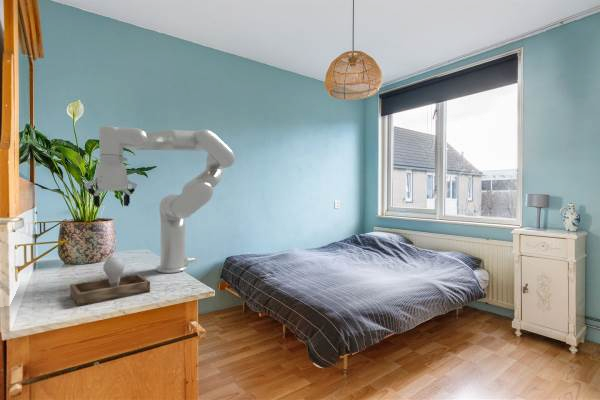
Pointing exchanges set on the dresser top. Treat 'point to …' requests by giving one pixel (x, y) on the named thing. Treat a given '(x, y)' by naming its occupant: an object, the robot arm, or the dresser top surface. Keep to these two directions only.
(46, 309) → the dresser top surface
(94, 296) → the walnut tray
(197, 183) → the robot arm
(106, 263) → the lightbulb
